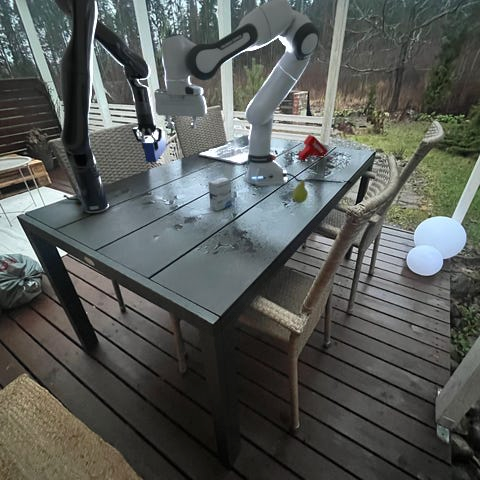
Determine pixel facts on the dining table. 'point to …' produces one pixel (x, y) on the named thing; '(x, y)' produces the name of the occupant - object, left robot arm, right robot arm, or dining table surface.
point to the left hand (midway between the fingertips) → (151, 150)
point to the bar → (150, 150)
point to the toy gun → (312, 148)
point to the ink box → (220, 193)
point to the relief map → (228, 153)
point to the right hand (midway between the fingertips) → (182, 128)
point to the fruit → (300, 192)
